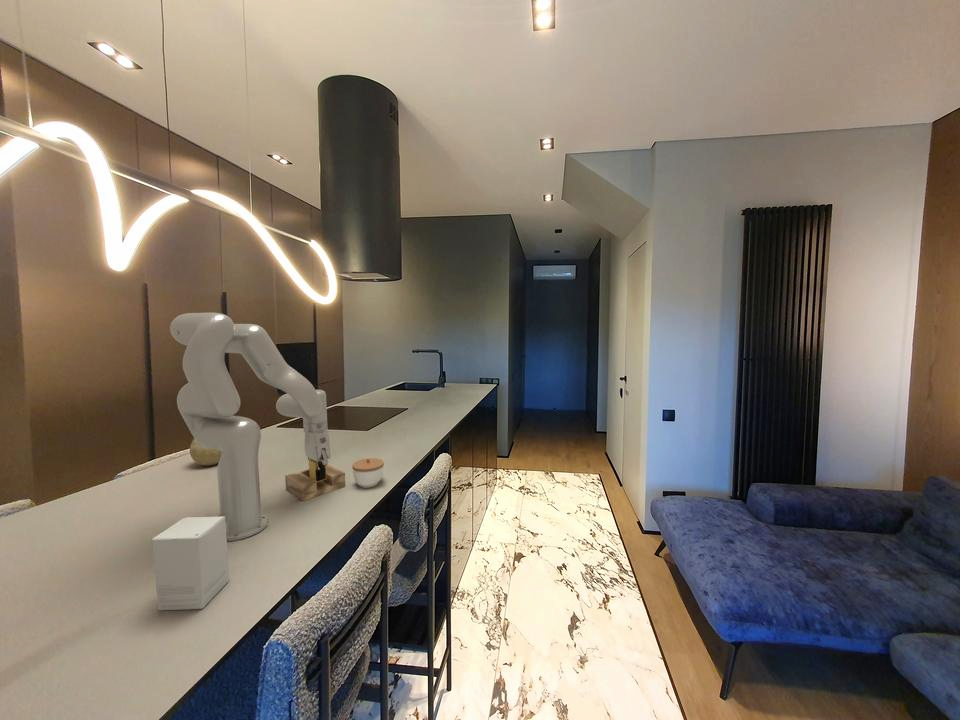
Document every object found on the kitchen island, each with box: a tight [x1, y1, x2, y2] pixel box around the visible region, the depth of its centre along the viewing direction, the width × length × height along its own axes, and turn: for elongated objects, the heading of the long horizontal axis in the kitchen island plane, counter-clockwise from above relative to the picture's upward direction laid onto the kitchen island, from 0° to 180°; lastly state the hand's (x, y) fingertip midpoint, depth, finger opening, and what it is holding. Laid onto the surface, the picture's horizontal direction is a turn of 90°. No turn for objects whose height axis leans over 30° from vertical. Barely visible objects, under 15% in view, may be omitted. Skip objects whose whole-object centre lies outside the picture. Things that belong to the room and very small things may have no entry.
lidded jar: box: [351, 457, 385, 489], centre depth 134 cm, size 11×11×9 cm
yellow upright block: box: [308, 458, 327, 482], centre depth 130 cm, size 4×4×7 cm
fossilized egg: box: [189, 437, 222, 467], centre depth 153 cm, size 13×13×15 cm
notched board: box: [284, 463, 346, 502], centre depth 131 cm, size 15×13×5 cm
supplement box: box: [151, 516, 230, 611], centre depth 78 cm, size 9×9×15 cm
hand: (317, 477), depth 130 cm, fingers closed on yellow upright block, 4 cm apart
